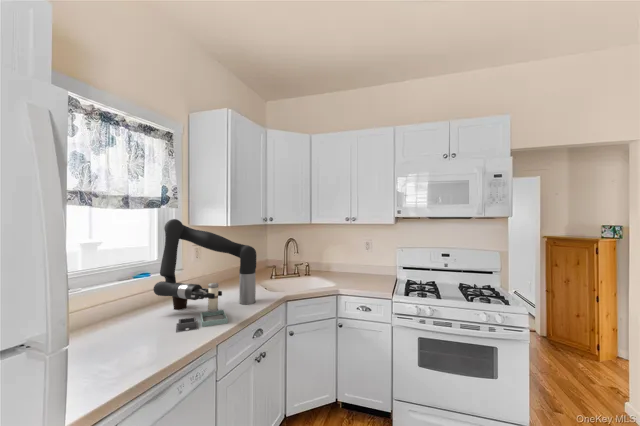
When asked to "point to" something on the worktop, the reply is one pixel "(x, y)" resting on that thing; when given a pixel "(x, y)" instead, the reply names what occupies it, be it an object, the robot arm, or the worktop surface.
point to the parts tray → (214, 322)
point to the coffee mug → (179, 303)
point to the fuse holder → (187, 324)
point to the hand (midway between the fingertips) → (217, 294)
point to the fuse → (213, 302)
